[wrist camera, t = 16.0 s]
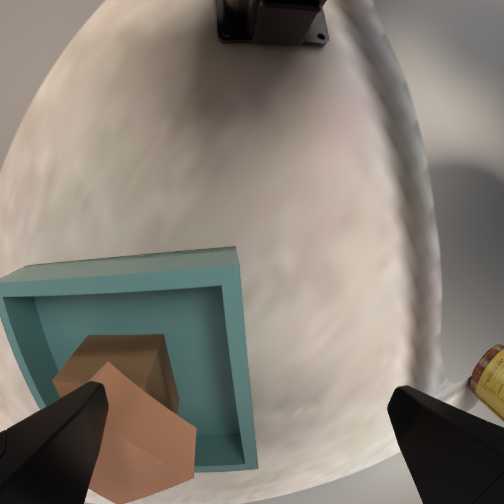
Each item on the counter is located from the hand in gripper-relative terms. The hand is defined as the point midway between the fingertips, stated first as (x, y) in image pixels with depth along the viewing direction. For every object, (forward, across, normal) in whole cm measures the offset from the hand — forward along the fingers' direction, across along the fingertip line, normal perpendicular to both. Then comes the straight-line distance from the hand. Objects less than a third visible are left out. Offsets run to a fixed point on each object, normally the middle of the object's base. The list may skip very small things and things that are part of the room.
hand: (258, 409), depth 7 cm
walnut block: (+8, +6, +5) cm, 12 cm away
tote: (+9, +6, +5) cm, 12 cm away
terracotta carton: (+3, +6, +5) cm, 8 cm away
